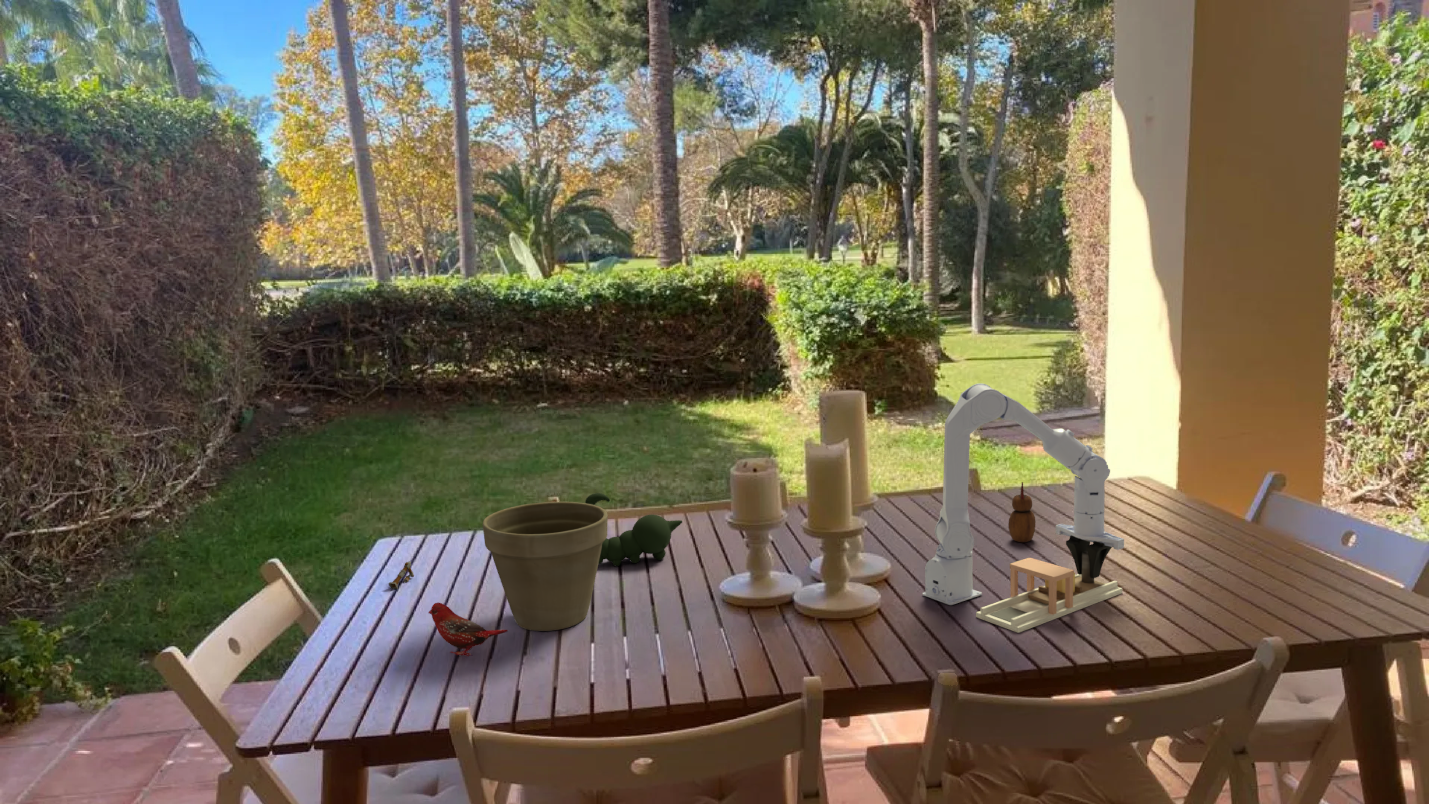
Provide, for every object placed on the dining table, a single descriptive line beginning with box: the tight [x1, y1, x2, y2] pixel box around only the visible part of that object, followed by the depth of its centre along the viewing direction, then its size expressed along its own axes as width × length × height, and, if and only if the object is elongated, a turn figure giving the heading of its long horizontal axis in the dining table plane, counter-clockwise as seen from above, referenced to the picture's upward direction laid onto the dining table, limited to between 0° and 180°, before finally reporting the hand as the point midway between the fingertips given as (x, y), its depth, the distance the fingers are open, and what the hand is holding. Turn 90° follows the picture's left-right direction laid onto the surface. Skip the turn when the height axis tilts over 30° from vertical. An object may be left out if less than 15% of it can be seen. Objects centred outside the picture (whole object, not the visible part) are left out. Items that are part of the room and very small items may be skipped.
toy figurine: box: [584, 492, 683, 567], centre depth 223 cm, size 9×19×25 cm
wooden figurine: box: [1007, 481, 1037, 543], centre depth 225 cm, size 7×6×15 cm
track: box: [975, 557, 1123, 634], centre depth 184 cm, size 32×10×8 cm, turn 123°
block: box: [1044, 571, 1076, 593], centre depth 185 cm, size 4×4×4 cm
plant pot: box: [482, 501, 609, 632], centre depth 188 cm, size 25×25×22 cm
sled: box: [1028, 552, 1106, 605], centre depth 186 cm, size 16×6×7 cm, turn 123°
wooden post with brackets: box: [387, 561, 415, 590], centre depth 216 cm, size 2×8×4 cm, turn 164°
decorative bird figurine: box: [428, 602, 509, 657], centre depth 172 cm, size 3×18×10 cm, turn 69°
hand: (1088, 575), depth 190 cm, fingers closed on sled, 2 cm apart
